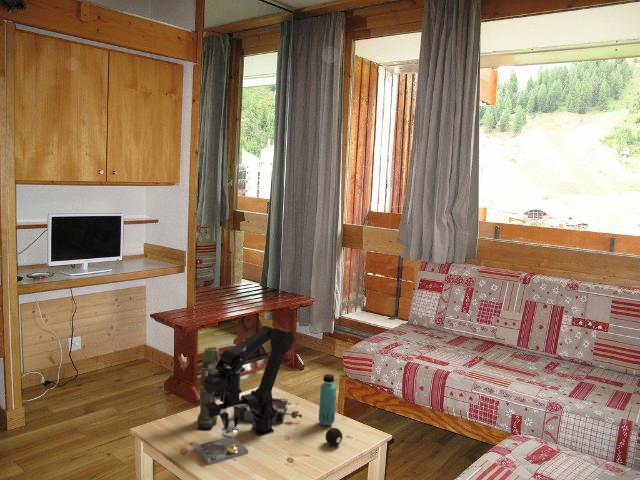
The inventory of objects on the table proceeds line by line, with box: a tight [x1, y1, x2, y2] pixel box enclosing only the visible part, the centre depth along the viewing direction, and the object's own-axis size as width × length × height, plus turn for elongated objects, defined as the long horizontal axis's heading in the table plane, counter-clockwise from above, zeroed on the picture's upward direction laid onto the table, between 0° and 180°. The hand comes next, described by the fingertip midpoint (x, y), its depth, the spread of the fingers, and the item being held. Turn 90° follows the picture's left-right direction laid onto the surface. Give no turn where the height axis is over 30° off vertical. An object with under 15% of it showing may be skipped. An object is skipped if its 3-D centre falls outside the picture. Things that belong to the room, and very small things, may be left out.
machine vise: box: [239, 397, 303, 425], centre depth 218 cm, size 15×25×5 cm, turn 86°
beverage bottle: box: [318, 373, 337, 426], centre depth 212 cm, size 6×7×20 cm
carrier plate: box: [193, 437, 249, 466], centre depth 189 cm, size 15×12×4 cm
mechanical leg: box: [197, 346, 221, 431], centre depth 208 cm, size 14×7×30 cm, turn 179°
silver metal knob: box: [220, 416, 240, 438], centre depth 192 cm, size 6×6×6 cm
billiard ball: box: [325, 427, 343, 447], centre depth 197 cm, size 6×6×6 cm
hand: (230, 428), depth 192 cm, fingers closed on silver metal knob, 3 cm apart
